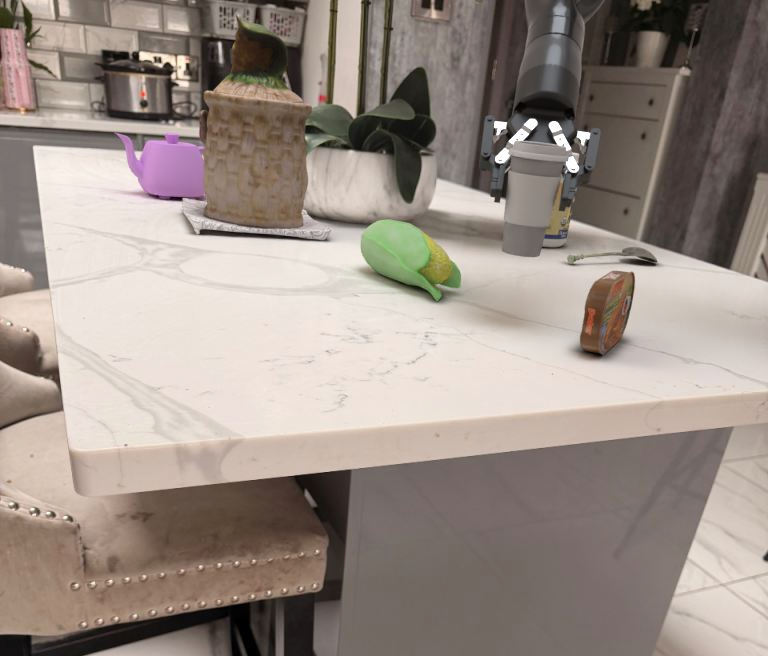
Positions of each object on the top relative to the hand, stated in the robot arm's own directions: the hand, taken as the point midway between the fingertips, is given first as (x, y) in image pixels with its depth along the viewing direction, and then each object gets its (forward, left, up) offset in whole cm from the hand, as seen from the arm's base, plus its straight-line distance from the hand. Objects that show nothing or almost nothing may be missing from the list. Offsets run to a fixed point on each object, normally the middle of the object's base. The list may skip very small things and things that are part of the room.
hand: (530, 202), depth 88 cm
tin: (-11, +2, -15) cm, 19 cm away
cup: (0, -2, -6) cm, 6 cm away
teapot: (+71, -65, -15) cm, 97 cm away
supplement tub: (-5, -68, -15) cm, 70 cm away
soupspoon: (-19, -56, -15) cm, 61 cm away
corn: (+15, -17, -15) cm, 27 cm away
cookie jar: (+47, -46, -15) cm, 67 cm away
